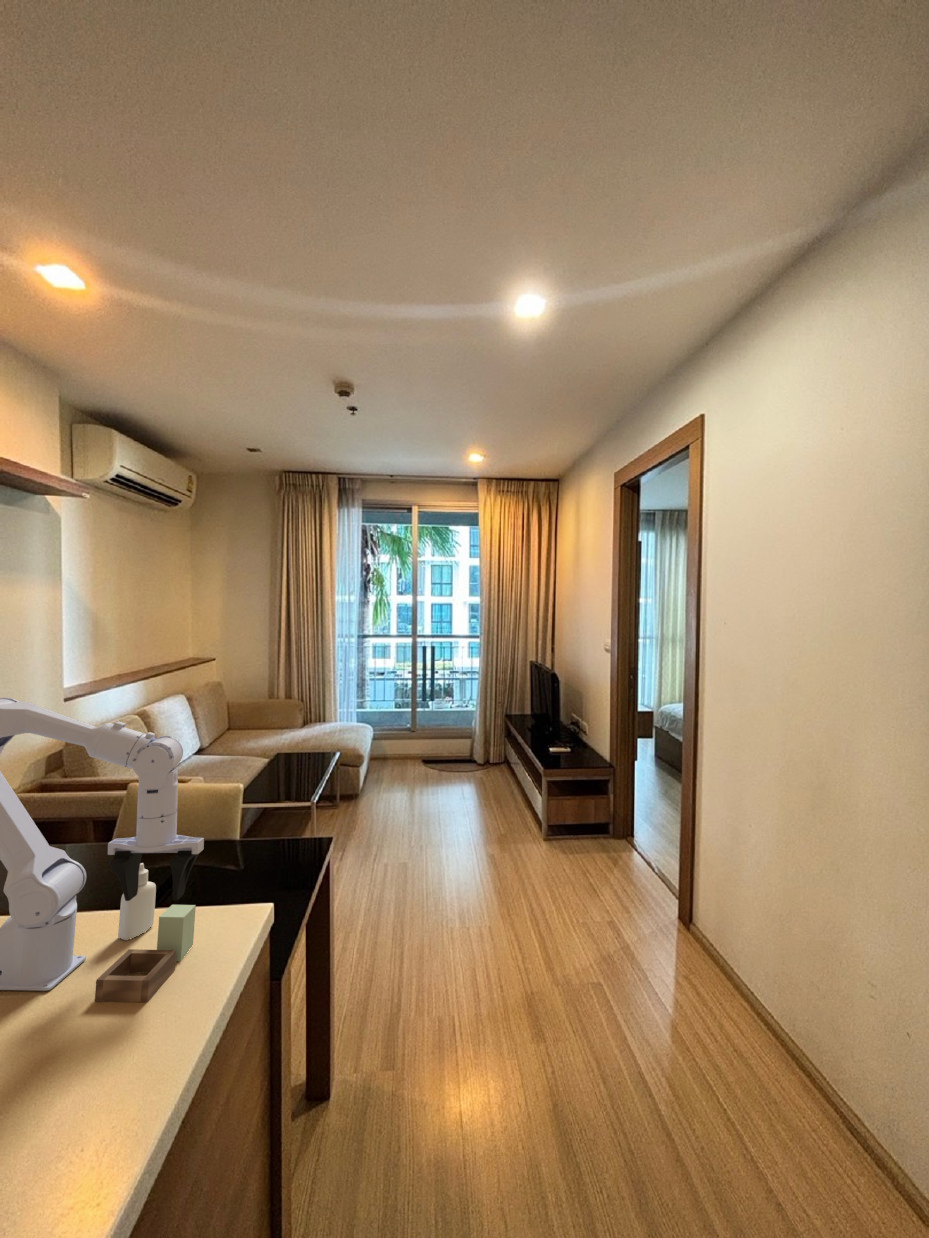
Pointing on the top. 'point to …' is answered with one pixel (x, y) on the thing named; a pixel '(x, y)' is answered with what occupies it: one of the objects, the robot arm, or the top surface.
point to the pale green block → (177, 929)
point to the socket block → (135, 988)
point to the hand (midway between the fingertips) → (154, 897)
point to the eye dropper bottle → (138, 908)
